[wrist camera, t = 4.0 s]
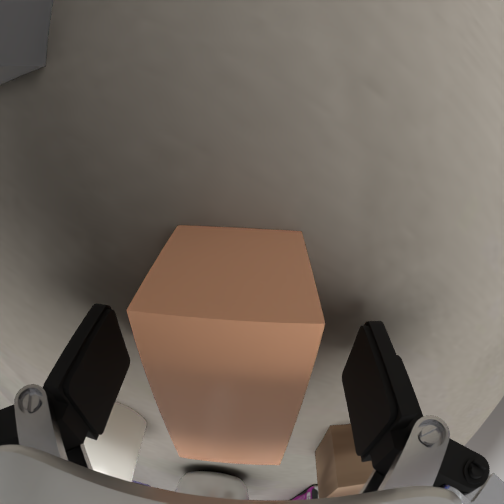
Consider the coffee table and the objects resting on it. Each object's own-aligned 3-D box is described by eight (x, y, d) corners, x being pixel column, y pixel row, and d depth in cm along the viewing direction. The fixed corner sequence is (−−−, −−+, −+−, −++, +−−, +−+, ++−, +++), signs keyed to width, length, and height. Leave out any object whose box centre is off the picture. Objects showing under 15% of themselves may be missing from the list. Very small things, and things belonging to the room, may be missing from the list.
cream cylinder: (84, 392, 15) (58, 453, 11) (138, 406, 15) (117, 475, 11) (103, 422, 17) (85, 475, 13) (152, 434, 17) (137, 492, 13)
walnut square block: (330, 424, 15) (338, 487, 11) (393, 417, 15) (408, 474, 11) (314, 451, 18) (319, 503, 14) (370, 445, 18) (379, 494, 14)
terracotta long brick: (178, 223, 10) (126, 310, 6) (301, 229, 9) (324, 323, 6) (195, 376, 13) (179, 457, 9) (278, 382, 13) (279, 464, 9)
